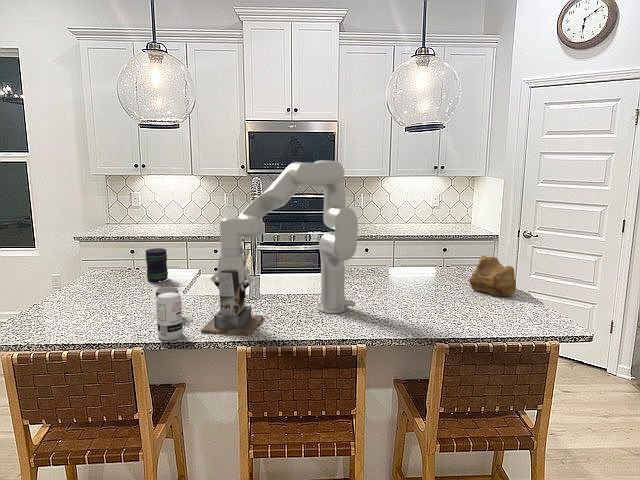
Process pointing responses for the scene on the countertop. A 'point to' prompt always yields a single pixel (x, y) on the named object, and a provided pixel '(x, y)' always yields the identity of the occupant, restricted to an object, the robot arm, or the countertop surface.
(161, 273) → the storage jar
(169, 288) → the coffee mug
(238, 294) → the coffee box
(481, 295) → the countertop surface
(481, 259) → the rough brown rock
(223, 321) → the holder stand
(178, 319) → the supplement can
